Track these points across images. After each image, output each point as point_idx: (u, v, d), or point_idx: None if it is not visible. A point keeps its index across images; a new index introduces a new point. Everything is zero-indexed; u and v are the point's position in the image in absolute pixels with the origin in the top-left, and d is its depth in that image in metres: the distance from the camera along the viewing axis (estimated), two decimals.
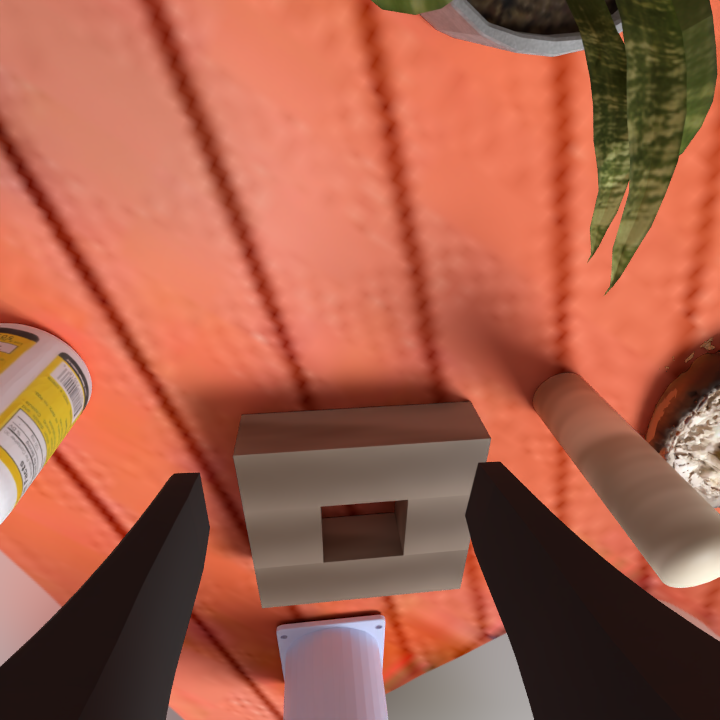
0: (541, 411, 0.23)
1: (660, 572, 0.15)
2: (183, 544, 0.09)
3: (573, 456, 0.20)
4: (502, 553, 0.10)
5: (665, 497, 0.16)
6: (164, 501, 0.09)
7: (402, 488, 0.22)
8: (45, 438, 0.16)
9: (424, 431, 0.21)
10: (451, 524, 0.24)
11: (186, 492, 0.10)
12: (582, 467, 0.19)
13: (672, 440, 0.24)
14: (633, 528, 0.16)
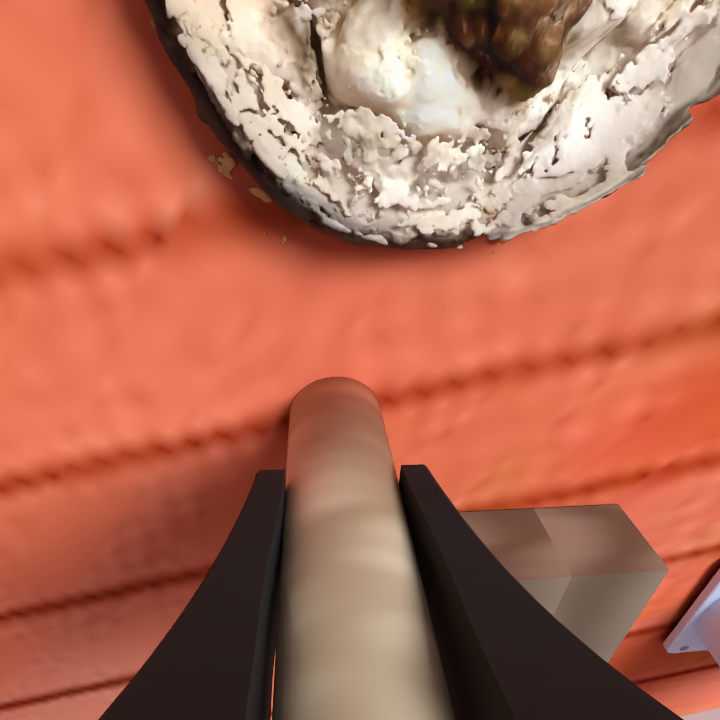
0: None
1: None
2: (279, 539, 0.10)
3: None
4: (417, 559, 0.10)
5: None
6: (260, 497, 0.10)
7: None
8: None
9: None
10: None
11: (278, 488, 0.10)
12: None
13: (450, 229, 0.10)
14: None
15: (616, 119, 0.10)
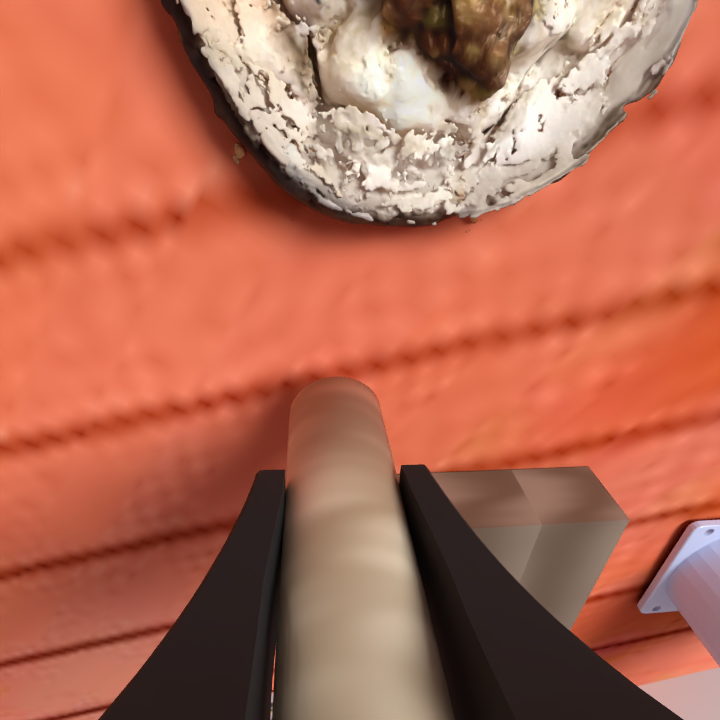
0: None
1: None
2: (279, 539, 0.10)
3: None
4: None
5: None
6: (260, 497, 0.10)
7: None
8: None
9: None
10: None
11: (279, 488, 0.10)
12: None
13: (426, 209, 0.12)
14: None
15: (564, 115, 0.11)
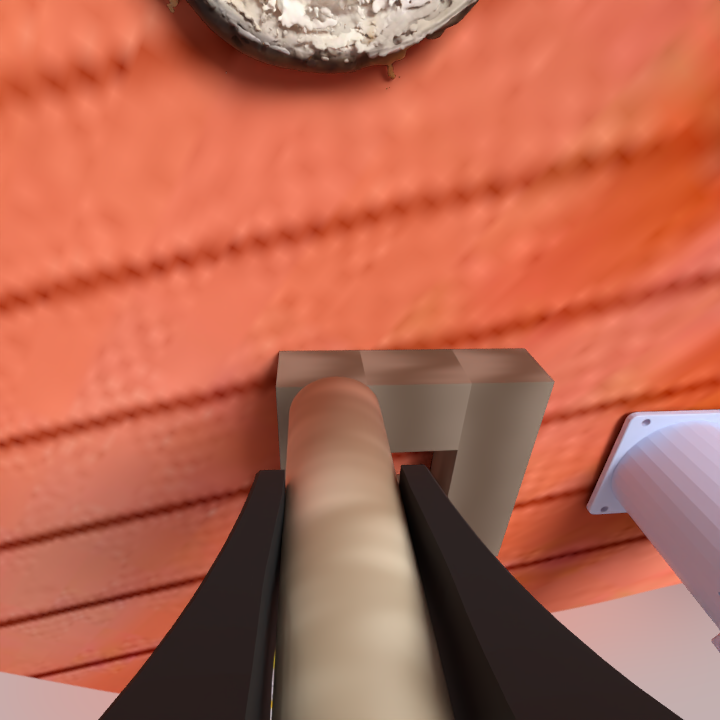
0: None
1: None
2: (279, 539, 0.10)
3: None
4: (417, 559, 0.10)
5: None
6: (260, 497, 0.10)
7: None
8: None
9: None
10: (417, 408, 0.19)
11: (278, 488, 0.10)
12: None
13: (340, 49, 0.13)
14: None
15: None
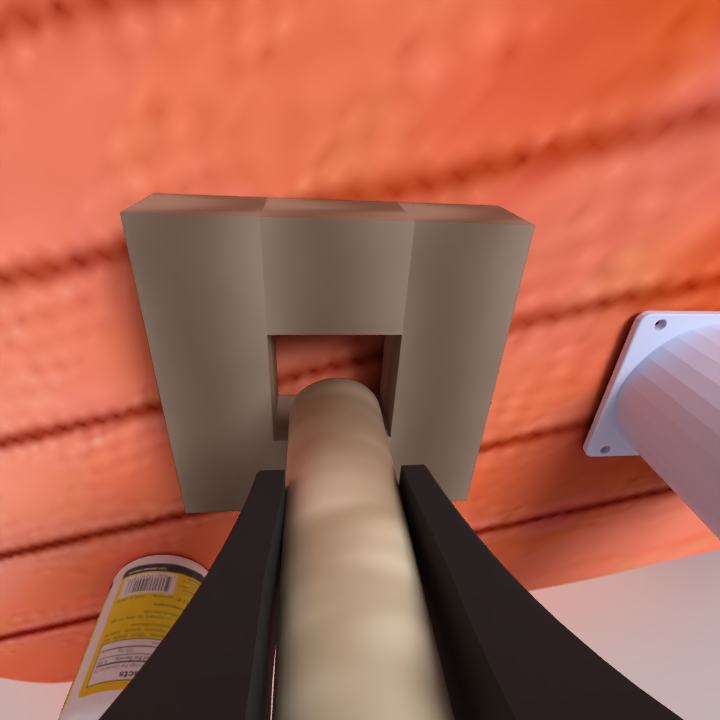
0: None
1: None
2: (279, 539, 0.10)
3: None
4: (417, 558, 0.10)
5: None
6: (260, 497, 0.10)
7: (241, 344, 0.14)
8: (136, 637, 0.20)
9: None
10: (337, 261, 0.13)
11: (279, 488, 0.10)
12: None
13: None
14: None
15: None
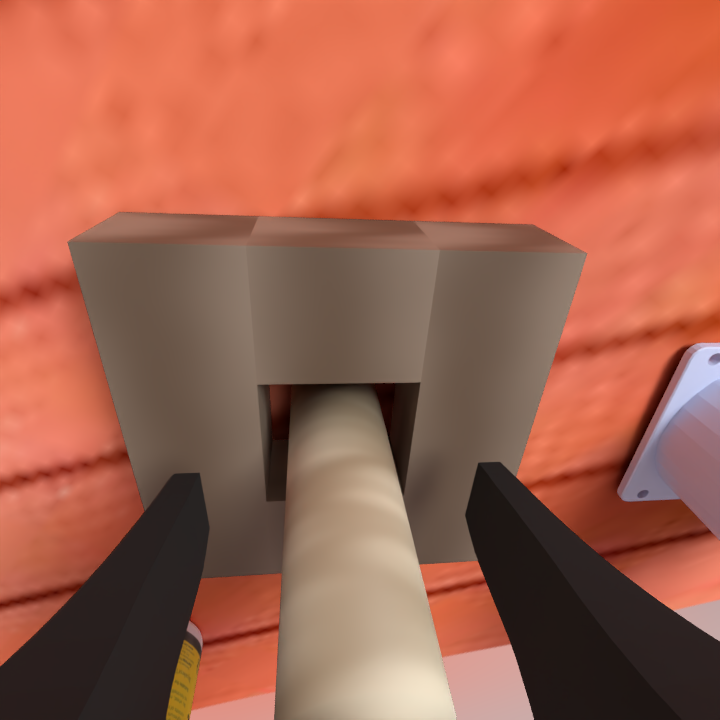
0: None
1: None
2: (183, 544, 0.09)
3: None
4: (502, 554, 0.10)
5: None
6: (164, 501, 0.09)
7: (225, 396, 0.12)
8: None
9: None
10: (343, 298, 0.11)
11: (186, 492, 0.10)
12: None
13: None
14: None
15: None
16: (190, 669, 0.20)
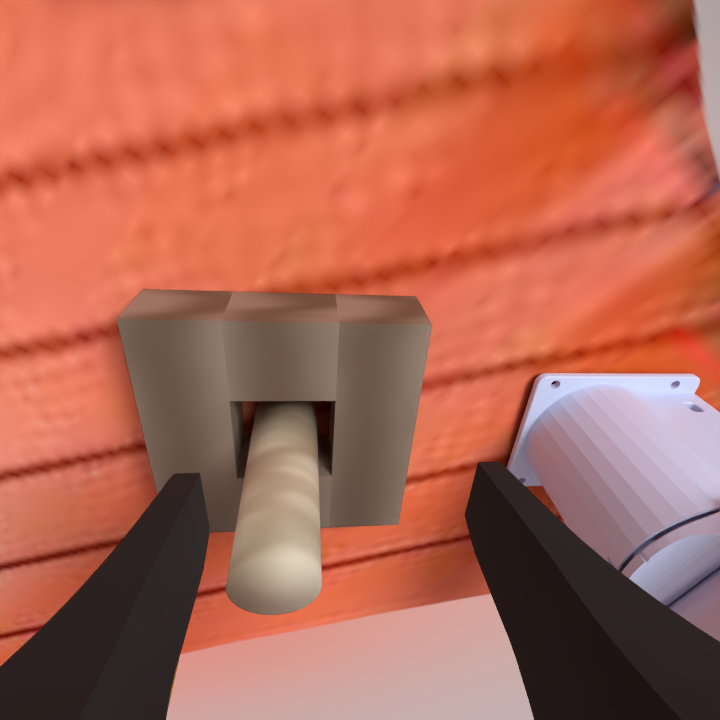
0: None
1: (287, 612, 0.15)
2: (183, 544, 0.09)
3: None
4: (502, 553, 0.10)
5: None
6: (164, 501, 0.09)
7: (209, 408, 0.18)
8: None
9: None
10: (282, 350, 0.17)
11: (186, 492, 0.10)
12: None
13: None
14: None
15: None
16: None
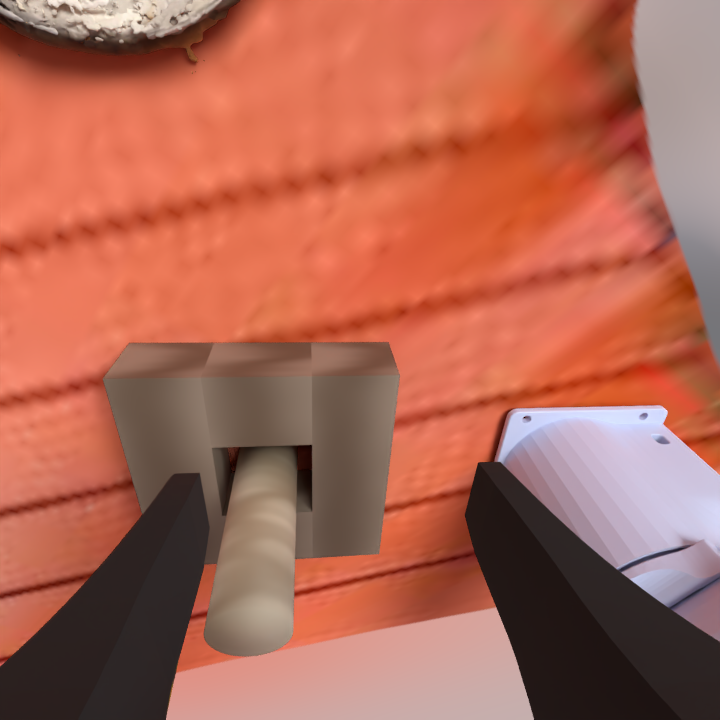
0: None
1: (262, 653, 0.16)
2: (183, 544, 0.09)
3: None
4: (502, 554, 0.10)
5: None
6: (164, 501, 0.09)
7: (193, 454, 0.20)
8: None
9: None
10: (258, 401, 0.19)
11: (186, 492, 0.10)
12: None
13: (117, 30, 0.13)
14: None
15: None
16: None
